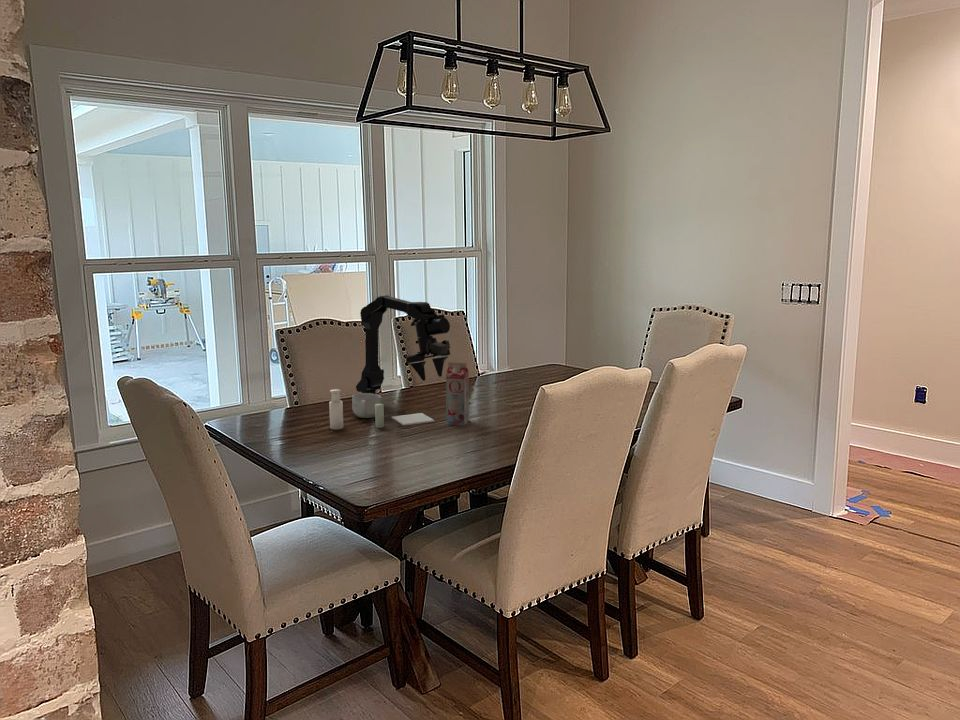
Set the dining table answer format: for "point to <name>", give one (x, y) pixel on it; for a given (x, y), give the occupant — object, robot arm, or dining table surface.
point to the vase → (336, 410)
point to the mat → (412, 419)
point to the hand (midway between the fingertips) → (432, 378)
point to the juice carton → (457, 394)
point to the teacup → (365, 404)
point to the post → (379, 415)
